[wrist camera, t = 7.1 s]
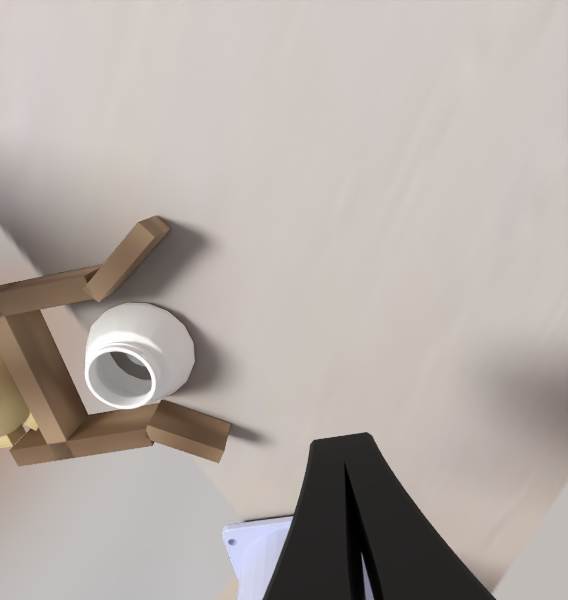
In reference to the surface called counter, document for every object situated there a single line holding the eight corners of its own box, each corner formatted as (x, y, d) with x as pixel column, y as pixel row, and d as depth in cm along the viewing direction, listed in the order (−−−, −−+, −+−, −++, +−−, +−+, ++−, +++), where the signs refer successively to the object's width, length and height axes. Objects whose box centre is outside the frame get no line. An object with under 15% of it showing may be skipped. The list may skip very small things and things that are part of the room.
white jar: (153, 406, 20) (217, 348, 18) (130, 446, 17) (203, 381, 16) (75, 345, 19) (137, 278, 17) (37, 377, 16) (108, 300, 14)
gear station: (233, 433, 20) (226, 468, 18) (-26, 473, 21) (-63, 510, 19) (166, 213, 16) (145, 221, 14) (-147, 279, 17) (-212, 297, 15)
